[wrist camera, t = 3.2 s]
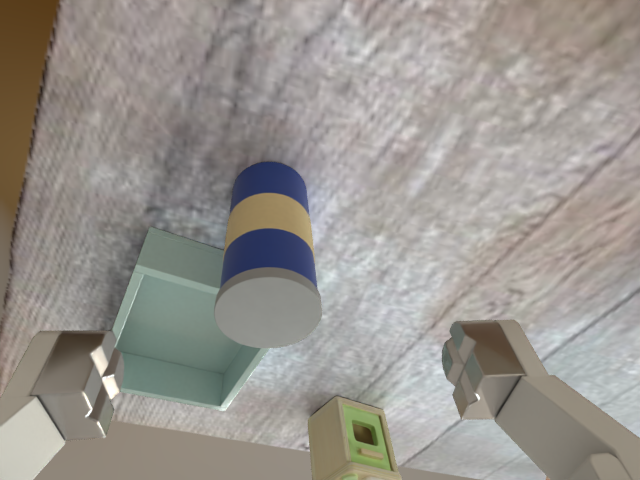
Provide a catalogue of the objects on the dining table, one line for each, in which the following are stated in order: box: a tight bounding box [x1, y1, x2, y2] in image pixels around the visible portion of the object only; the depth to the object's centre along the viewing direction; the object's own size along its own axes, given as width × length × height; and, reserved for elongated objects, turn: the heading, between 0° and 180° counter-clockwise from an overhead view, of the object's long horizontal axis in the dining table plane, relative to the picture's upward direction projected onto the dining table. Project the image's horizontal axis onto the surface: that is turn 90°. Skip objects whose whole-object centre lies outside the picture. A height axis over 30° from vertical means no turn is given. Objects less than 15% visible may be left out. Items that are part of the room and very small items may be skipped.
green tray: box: [111, 227, 270, 411], centre depth 41 cm, size 18×14×5 cm
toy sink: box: [308, 396, 401, 480], centre depth 53 cm, size 8×7×13 cm
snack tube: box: [214, 162, 322, 348], centre depth 30 cm, size 6×6×13 cm
